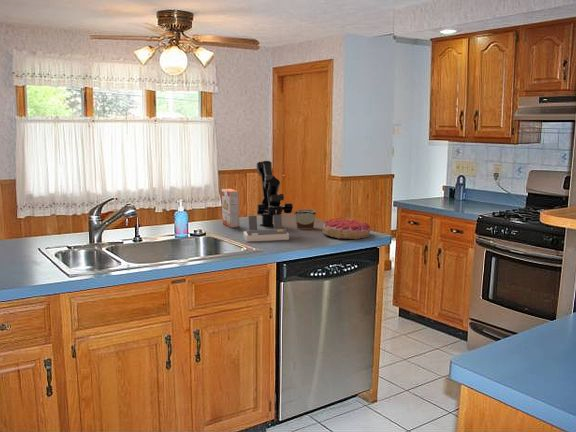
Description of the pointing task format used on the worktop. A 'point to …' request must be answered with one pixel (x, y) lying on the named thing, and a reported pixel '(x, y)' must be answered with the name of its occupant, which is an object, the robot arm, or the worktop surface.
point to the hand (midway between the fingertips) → (276, 221)
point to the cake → (346, 229)
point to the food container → (305, 218)
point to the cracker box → (230, 207)
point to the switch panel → (266, 235)
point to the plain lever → (252, 222)
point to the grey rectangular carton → (277, 221)
